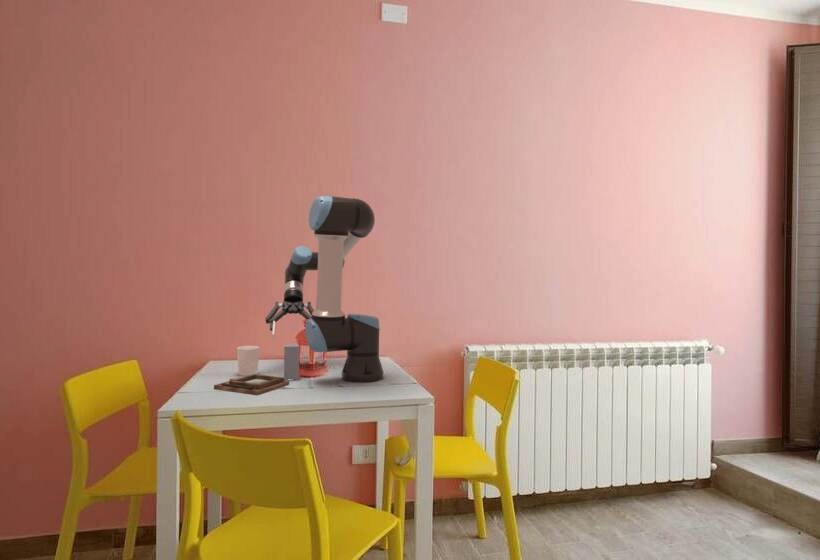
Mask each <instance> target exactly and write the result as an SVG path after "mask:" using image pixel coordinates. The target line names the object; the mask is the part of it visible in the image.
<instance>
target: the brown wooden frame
mask: <svg viewBox="0 0 820 560" xmlns="http://www.w3.org/2000/svg"><path fill="white" fill-rule="evenodd" d="M288 384H289V385H290V380H284V376H282V377H281V376H275V375H267V374H258V373H257V374H253V375H250V376H236V377H232V378H230V379H229V380H228V381H225V382H221V383H217V384H214V385H213V389H214V390H218V389H219V391H224V392H225V391H227V392H234V393H241V394H246V395H247V394H249V395H255V396H259V395H262V394H266V393H268V392H272V391H275V390H278V389H280V388H283V386H284V387H286V385H287V386H289V385H288Z"/></svg>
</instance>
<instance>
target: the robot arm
mask: <svg viewBox="0 0 820 560" xmlns="http://www.w3.org/2000/svg"><path fill="white" fill-rule="evenodd" d="M374 226H375V214H374V210H373V209H372V207H371V205H370V204H368V203H367V202H366V201H364V200H362V199H359V198H354V197H353V198H350V197H344V196H343V197H341V196H333V195H320V196H317V197H316V198H315V199H314V200H313V201H312V204H311V206H310V209H309V213H308V227H309V228H310V230H313V233H314V236H315V238H316V239H317V240H318V247H317V248H318V250H317V251H312V250H311V248H309V247H306V246H304V245H300V246H297V247H295V248H294V249H293V252H292V254H291V256H290V260H289V263H288V264H287V265H286V267H285V272H284V289H283V290H284V291H283V303H280V302H279V301H275V304H274V305H273V307H272V309H271V310H270V311H269V313H268V314H267V315H266V316H265V324H267V325H268V324H269V331H271V333H272V334H271V335H272V336H271V337H272V339H273V340H275V338H276V336H275V335H276V323H277V322H279V320H281V319H282V318H283V317H284V316H286V315H287V314H290V315H291V314H294V315H297V314H299V315H300V316H302V317H303V318H304V319H305V320H306V322H305V325H304V331H305V338H306V342H307V345H308V347H309V349H310V350H311V351H312V352H314V353H331V352H333V353H334V352H342V351H343V352H344V351H345V352H346V359H345V362H344V365H343V368H342V371H341V379H343V380H344V381H347V380H348V382H354V381H358V382H357V383H364V382H363V381H370V382H375V381H374V380H377V381H380V380H379V379H381V378H383V379H384V369H383V366H382V363H381V360H380V330H381V329H380V319H379V318H378V317H376V316H372V315H367V314H358V313H347V315H346V312H344V311H343V310H342V296H343V295H342V291H343V289H342V288H343V287H342V286H343V269H344V266H345V262H346V261H345V258H346V256H348V255H349V253H351V252H350V251H352V250H353V249H354V247H356V245H357V244H358V243H359V242H360V240H361V239H362V238H363V239H364V238H366V237H367V236H368V235H369V234H370V233H371V232H372V230H373V229H374ZM307 271H317V275H316V278H317V279H316V280H317V281H316V305H315V306H316V307H315V309H314V308H313V307H312V302H311V301H307V303H305V302H304V279H305V275H306V273H307ZM304 308H305V309H306V310H307V311H308V312H309V313H308V312H307V311H306V310H305V309H304ZM280 309H281V310H280ZM279 310H280V311H279ZM278 311H279V312H278ZM310 318H311V319H310ZM307 319H309V320H307ZM381 380H382V379H381Z"/></svg>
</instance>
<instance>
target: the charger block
mask: <svg viewBox="0 0 820 560" xmlns="http://www.w3.org/2000/svg"><path fill="white" fill-rule="evenodd" d="M283 348H284V349H283V351H284V354H283V355H284V356H283V357H284V358H283V368H284V369H283V375H284V376H283V377H284V381H289V380H288V379H299V377H300V373H299V372H300V343H299V344H296V343H295V344H294V343H293V344H284V347H283Z"/></svg>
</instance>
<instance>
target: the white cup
mask: <svg viewBox="0 0 820 560" xmlns="http://www.w3.org/2000/svg"><path fill="white" fill-rule="evenodd" d="M236 352H237V367H238V369H237V371H238V372H237V373H238V376H240V377H246V376H250V375H253V374H258V372H259V371H258V370H259V361H260V360H259V359H260V347H259V346H258V345H243V346H238V347H237V348H236Z"/></svg>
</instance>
